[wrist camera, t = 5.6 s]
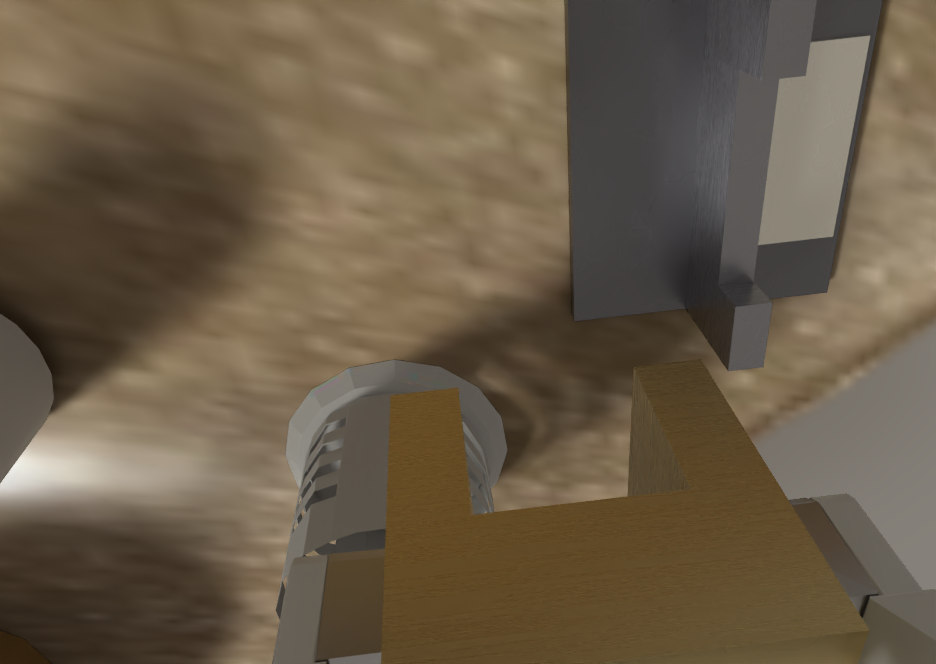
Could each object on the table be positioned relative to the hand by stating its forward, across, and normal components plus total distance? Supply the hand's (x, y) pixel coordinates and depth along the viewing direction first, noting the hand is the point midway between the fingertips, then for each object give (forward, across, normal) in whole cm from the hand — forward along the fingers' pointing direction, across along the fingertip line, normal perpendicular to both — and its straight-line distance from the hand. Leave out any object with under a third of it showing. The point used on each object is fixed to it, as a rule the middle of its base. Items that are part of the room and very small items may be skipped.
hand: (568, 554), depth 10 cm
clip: (+2, 0, 0) cm, 2 cm away
